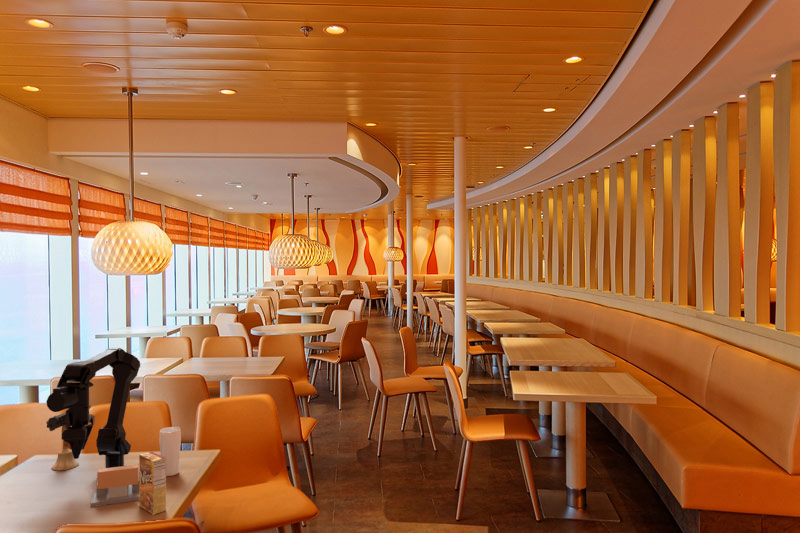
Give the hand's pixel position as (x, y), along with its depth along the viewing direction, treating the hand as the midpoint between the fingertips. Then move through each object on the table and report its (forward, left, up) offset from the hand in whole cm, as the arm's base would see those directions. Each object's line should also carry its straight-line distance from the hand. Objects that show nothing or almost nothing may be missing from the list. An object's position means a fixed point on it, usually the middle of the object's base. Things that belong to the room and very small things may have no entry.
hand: (79, 454), depth 177 cm
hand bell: (-28, -9, -12) cm, 32 cm away
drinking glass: (-7, +26, -12) cm, 30 cm away
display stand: (+7, +12, -12) cm, 19 cm away
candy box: (+21, +22, -12) cm, 33 cm away
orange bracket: (+6, +12, -8) cm, 16 cm away
